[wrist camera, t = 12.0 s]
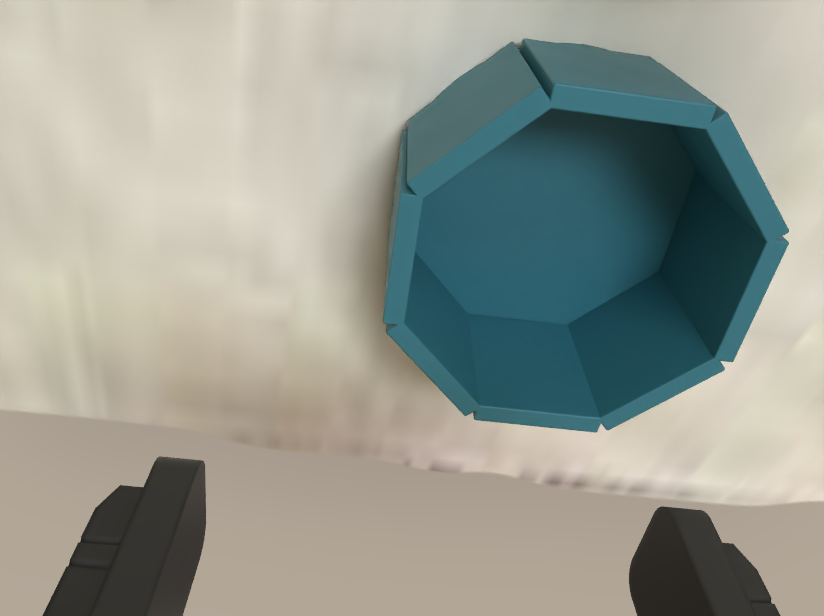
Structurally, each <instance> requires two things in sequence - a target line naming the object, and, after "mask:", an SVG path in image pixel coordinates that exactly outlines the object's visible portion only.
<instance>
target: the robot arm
mask: <svg viewBox="0 0 824 616" xmlns="http://www.w3.org/2000/svg"><path fill="white" fill-rule="evenodd" d="M205 498H206V493H205V464H204V461H200V460H190V459H180V458H170V457H158V458H157V459H156V461H155V462H154V465H153V467H152V469H151V472H150V474H149V476H148V479H147V481H146V483H145V485H144V488H143V487H132V486H122V485H120V486H119V487H118V488H117V489H116V490H115V491H114V492H112V493H111V494H110V495H109V496H108V497H107V498H106V499H105V500H104V501H103V502H102V503H101V504H100V505H99V506H98V507H96V508H95V510H94V512H93V514H92V516H91V518H90V520H89V522H88V524H87V527H86V528H85V530H84V532H83V534H82V536H81V542H80V543H78V545H77V547H76V549H75V551H74V553H73V555H72V557H71V559H70V563H69V566H68V567H66V569H65V571H64V573H63V575H62V577H61V579H60V581H59V583H58V585H57V587H56V589H55V591H54V594H53V595H52V597H51V600H50V602H49V604H48V606H47V608H46V610H45V612H44V614H43V616H183V613H184V609H185V606H186V603H187V600H188V596H189V593H190V590H191V586H192V583H193V580H194V576H195V573H196V570H197V566H198V563H199V560H200V556H201V552H202V548H203V542H204V536H205V528H206V527H205V526H206V499H205ZM629 584H630V592H631V597H632V600H633V603H634V606H635V609H636V613H637V616H780V614H779V612H778V610H777V608H776V606H775V604H772V603H771V597H770V595H769V593H768V591H767V589H766V587H765V585H764V583H763V581H762V579H761V577H760V575H759V573H758V571H757V569H756V568H755V567H754V566H753V565H752V564H751V563H750V562H749V561H748V560H747V559H746V557H745V556H743V554H742V553H741V552H740V551H739V550H738V549H737V548H736V547H735V545H734V544H729V543H722V542H721V539H720V537H719V535H718V533H717V531H716V529H715V527H714V525H713V523H712V521H711V519H710V517H709V516H708V514H707V513H705V512H704V511H702V510H691V509H681V508H671V507H659V508H658V509H657V510H656V511H655V513H654V515H653V517H652V519H651V521H650V523H649V525H648V527H647V529H646V532H645V534H644V536H643V538H642V540H641V542H640V544H639V546H638V548H637V550H636V552H635V555H634V557H633V559H632V562H631V566H630V572H629Z"/></svg>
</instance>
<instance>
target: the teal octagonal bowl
mask: <svg viewBox="0 0 824 616" xmlns="http://www.w3.org/2000/svg"><path fill="white" fill-rule="evenodd" d="M788 232H789V229H788V228H787V226H786V224H785V222H784V220H783V218H782V216H781V214H780V212H779V210H778V208H777V206H776V204H775V203H774V201H773V199H772V197H771V195H770V193H769V191H768V189H767V187H766V185H765V183H764V181H763V179H762V178H761V176H760V174H759V172H758V170H757V168H756V166H755V164H754V162H753V160H752V158H751V156H750V155H749V153H748V151H747V149H746V147H745V145H744V143H743V141H742V139H741V137H740V135H739V133H738V131H737V130H736V128H735V126H734V124H733V122H732V120H731V118H730V116H729V114H728V113H727V112H726V111H724V110H723V109H722V108H720V107H719V106H718V105H716V104H715V103H713V102H712V101H711V100H709V99H708V98H707V97H705V96H704V95H703V94H701V93H700V92H698V91H697V90H696V89H694V88H693V87H692V86H690V85H689V84H688V83H686V82H685V81H683V80H682V79H681V78H679V77H678V76H677V75H675V74H674V73H673V72H671V71H670V70H668V69H667V68H666V67H664V66H663V65H662V64H660V63H658V62H657V61H655V60H654V59H652V58H651V57H649V56H642V55H635V54H628V53H621V52H614V51H609V50H606V49H603V48H598V47H594V46H589V45H584V44H571V43H552V42H545V41H538V40H531V39H523V40H522V45H521V48H520V49H518V48H517V47H516V45H515V44H514V42H511V43H509V44H508V45H507V46H505V47H504V48H503V49H501V50H500V51H499V52H497V53H496V54H495V55H493V56H492V57H491V58H489V59H488V60H487V61H486V62H484V63H482V64H480V65H478V66H476V67H474V68H473V69H471V70H470V71H468V72H467V73H465V74H464V75H462V76H461V77H459V78H458V79H456V80H455V81H454V82H453V83H452V84H451V85H450V86H448V87H447V88H446V89H445V90H444V91H443V92H442V93H440V95H439V96H438V97H437V98H436V99H435V100H434V101H433V102H432V103H430V104H429V105H428V106H426V107H425V108H424V109H422V110H421V111H420V112H418V113H417V114H416V115H414V116H413V117H412V118H410V119H409V120H408V130H402V136H401V144H400V152H399V159H398V167H397V175H396V181H395V190H394V198H393V206H392V214H391V221H390V229H389V237H388V249H387V265H386V281H385V296H384V312H383V323H387V325H386V333H387V334H388V335H389V336H390V337H391V338H392V339H393V340H394V341H395V342H396V343H397V344H398V345H399V346H400V347H401V349H402V350H403V351H404V352H405V353H406V354H407V355H408V356H409V357H410V358H411V359H412V360H413V361H414V362H415V363H416V364H417V366H418V367H419V368H420V369H421V370H422V371H423V372H424V373H425V374H426V375H427V376H428V377H429V378H430V379H431V380H432V381H433V383H434V384H435V385H436V386H437V387H438V388H439V389H440V390H441V391H442V392H443V393H444V394H445V395H446V396H447V397H448V398H449V399H450V401H451V402H452V403H453V404H454V405H455V406H456V407H457V408H458V409H459V410H460V411H461V412H462V413H463V414H464V415H465V416H467V415H468V414H470V413H472V412H473V415H474V419H475V420H481V421H490V422H500V423H510V424H520V425H529V426H539V427H549V428H558V429H568V430H578V431H588V432H597V431H598V428H599V426H600V423H601V424H602V425H603V426H604V427H605V429H606V430H610V429H612V428H614V427H616V426H618V425H619V424H621V423H623V422H625V421H627V420H629V419H631V418H633V417H635V416H637V415H639V414H641V413H643V412H645V411H646V410H648V409H650V408H652V407H654V406H656V405H658V404H660V403H662V402H664V401H666V400H668V399H670V398H672V397H674V396H675V395H677V394H679V393H681V392H683V391H685V390H687V389H689V388H691V387H693V386H695V385H697V384H699V383H701V382H702V381H704V380H706V379H708V378H710V377H712V376H714V375H716V374H718V373H720V372H722V371H724V370H725V368H724V366H723V365H722V363H721V362H720V361H727V362H733V361H734V359H735V357H736V355H737V352H738V350H739V348H740V346H741V344H742V342H743V340H744V338H745V335H746V333H747V331H748V329H749V327H750V325H751V323H752V321H753V318H754V316H755V314H756V312H757V310H758V308H759V306H760V304H761V301H762V299H763V297H764V295H765V293H766V291H767V289H768V287H769V284H770V282H771V280H772V278H773V276H774V274H775V272H776V270H777V267H778V265H779V263H780V261H781V259H782V257H783V255H784V253H785V250H786V248H787V246H788V244H789V242H788V241H787V240H786V239H785V238H784V237H783V235H785V234H787V233H788Z"/></svg>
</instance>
